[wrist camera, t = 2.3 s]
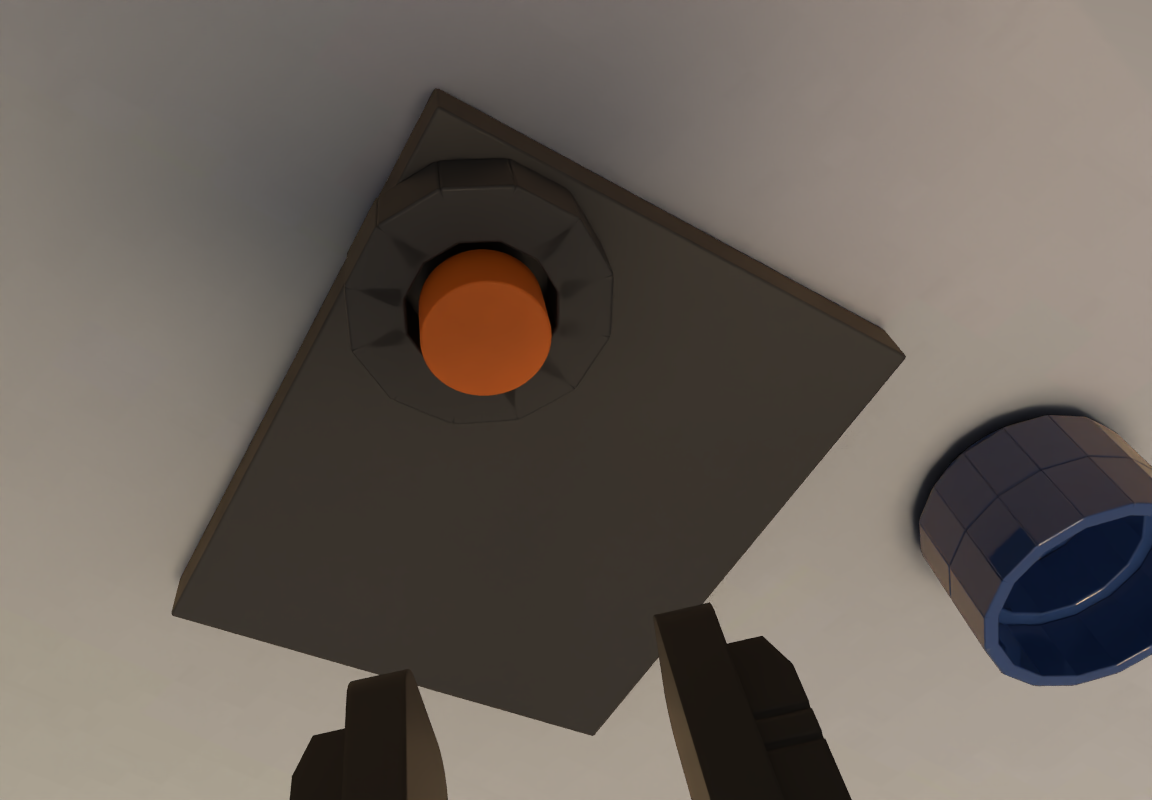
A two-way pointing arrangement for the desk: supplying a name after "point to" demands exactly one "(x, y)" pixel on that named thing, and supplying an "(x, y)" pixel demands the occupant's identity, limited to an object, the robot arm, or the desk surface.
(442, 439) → the scale
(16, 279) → the desk surface
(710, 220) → the desk surface
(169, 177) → the desk surface
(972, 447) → the bowl
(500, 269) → the button
